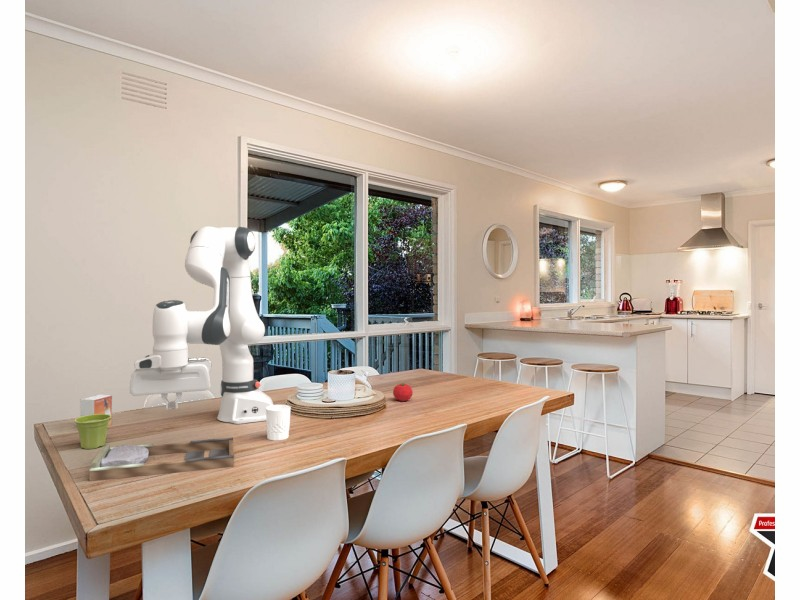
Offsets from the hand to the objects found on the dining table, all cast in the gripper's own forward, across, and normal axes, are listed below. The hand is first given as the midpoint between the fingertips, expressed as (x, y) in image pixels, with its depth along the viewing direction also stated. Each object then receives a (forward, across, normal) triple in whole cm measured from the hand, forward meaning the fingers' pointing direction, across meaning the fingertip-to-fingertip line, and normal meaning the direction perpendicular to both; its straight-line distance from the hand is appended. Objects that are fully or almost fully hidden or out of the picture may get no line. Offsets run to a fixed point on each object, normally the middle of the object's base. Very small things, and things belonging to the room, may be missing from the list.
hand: (172, 408), depth 134 cm
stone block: (+15, +12, -1) cm, 19 cm away
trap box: (+15, +1, 0) cm, 15 cm away
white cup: (+16, -30, -13) cm, 37 cm away
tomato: (+18, -88, -52) cm, 104 cm away
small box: (+15, +28, -43) cm, 53 cm away
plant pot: (+15, +24, -21) cm, 35 cm away
